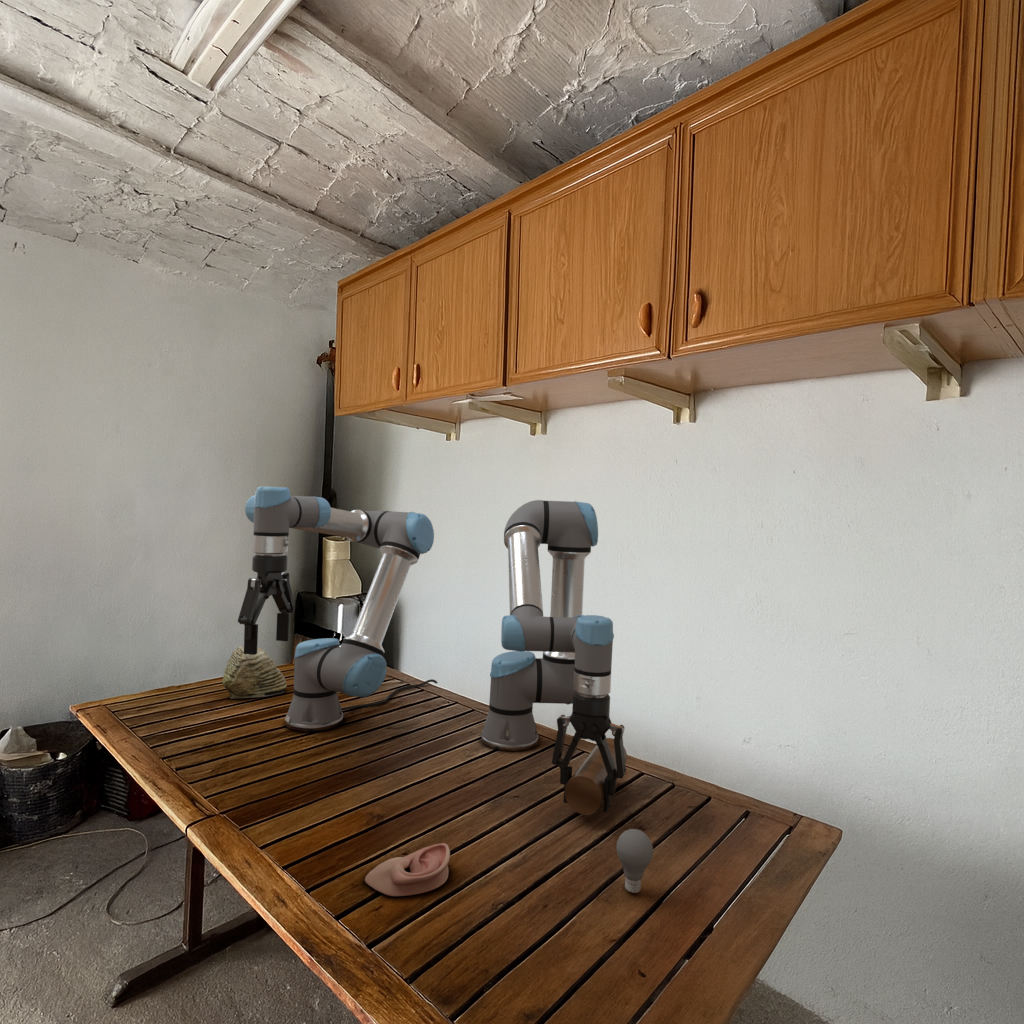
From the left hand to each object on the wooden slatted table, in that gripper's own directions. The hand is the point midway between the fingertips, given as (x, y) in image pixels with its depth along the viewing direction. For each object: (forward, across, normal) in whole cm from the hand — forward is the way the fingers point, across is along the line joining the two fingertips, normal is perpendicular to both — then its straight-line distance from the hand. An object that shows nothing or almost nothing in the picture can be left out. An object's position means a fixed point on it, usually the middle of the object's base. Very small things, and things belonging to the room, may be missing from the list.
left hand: (267, 647), depth 145 cm
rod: (+26, +3, -76) cm, 80 cm away
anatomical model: (+28, -32, -45) cm, 62 cm away
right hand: (+25, -5, -74) cm, 78 cm away
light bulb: (+28, -27, -82) cm, 91 cm away
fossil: (+28, +49, +31) cm, 64 cm away
